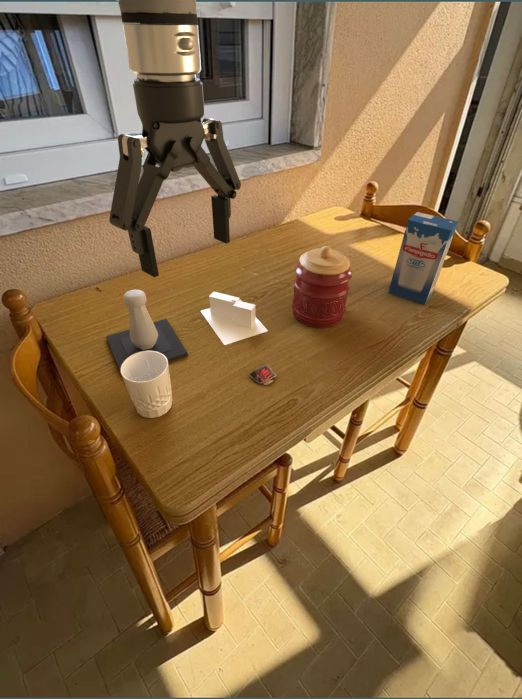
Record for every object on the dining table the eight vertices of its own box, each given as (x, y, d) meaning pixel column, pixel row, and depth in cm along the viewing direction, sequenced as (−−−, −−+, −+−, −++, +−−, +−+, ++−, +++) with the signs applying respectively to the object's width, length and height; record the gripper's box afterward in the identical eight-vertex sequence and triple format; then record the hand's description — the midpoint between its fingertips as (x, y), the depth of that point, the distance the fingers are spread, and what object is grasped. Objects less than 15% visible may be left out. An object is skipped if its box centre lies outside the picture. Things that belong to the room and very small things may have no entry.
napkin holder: (199, 311, 94) (197, 291, 90) (240, 299, 98) (239, 279, 95) (224, 345, 84) (223, 325, 81) (269, 330, 89) (269, 310, 85)
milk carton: (387, 292, 102) (407, 219, 89) (396, 282, 106) (416, 211, 93) (425, 305, 97) (451, 230, 84) (432, 294, 101) (459, 221, 88)
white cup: (144, 428, 67) (133, 389, 60) (125, 401, 72) (112, 363, 65) (183, 406, 71) (176, 368, 64) (163, 383, 75) (154, 344, 69)
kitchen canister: (280, 310, 95) (284, 244, 83) (316, 292, 101) (325, 229, 90) (318, 336, 87) (328, 267, 76) (355, 315, 94) (369, 248, 82)
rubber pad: (122, 377, 76) (121, 374, 76) (106, 338, 86) (105, 335, 85) (188, 355, 82) (187, 352, 81) (166, 321, 91) (166, 318, 90)
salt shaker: (153, 332, 86) (142, 282, 78) (163, 346, 82) (153, 295, 74) (128, 341, 84) (114, 290, 75) (137, 356, 80) (124, 304, 71)
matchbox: (247, 376, 77) (247, 374, 77) (264, 363, 80) (264, 362, 80) (264, 388, 75) (264, 386, 74) (281, 374, 77) (281, 373, 77)
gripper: (78, 91, 32) (131, 300, 46) (267, 71, 47) (263, 235, 61) (36, 82, 36) (97, 279, 50) (223, 66, 50) (230, 222, 64)
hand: (188, 255), depth 55 cm, fingers open, 13 cm apart
